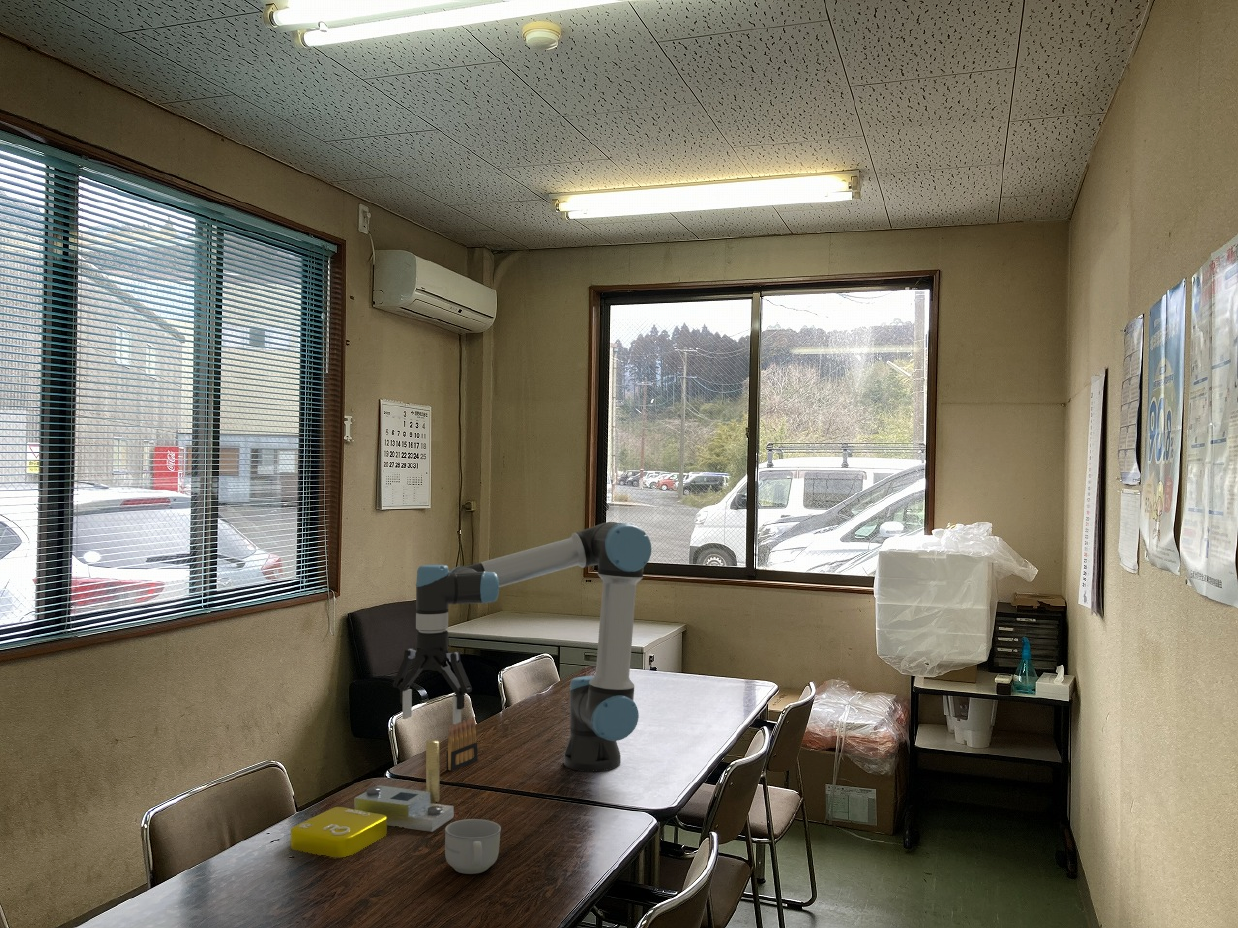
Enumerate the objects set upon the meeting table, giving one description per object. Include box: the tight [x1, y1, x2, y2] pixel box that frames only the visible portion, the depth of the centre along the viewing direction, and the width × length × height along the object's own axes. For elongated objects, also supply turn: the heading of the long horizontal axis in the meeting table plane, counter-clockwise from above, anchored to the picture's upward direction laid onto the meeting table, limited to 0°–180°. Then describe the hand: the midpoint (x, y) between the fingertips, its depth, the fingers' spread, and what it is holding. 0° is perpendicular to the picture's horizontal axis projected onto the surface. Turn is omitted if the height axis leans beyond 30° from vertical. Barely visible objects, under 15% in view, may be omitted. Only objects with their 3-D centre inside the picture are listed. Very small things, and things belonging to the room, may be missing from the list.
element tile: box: [290, 806, 388, 858], centre depth 192 cm, size 15×15×5 cm
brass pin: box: [425, 739, 440, 804], centre depth 216 cm, size 3×3×14 cm
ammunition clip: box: [445, 716, 479, 772], centre depth 243 cm, size 11×2×12 cm, turn 149°
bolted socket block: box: [353, 784, 455, 833], centre depth 204 cm, size 20×9×6 cm, turn 70°
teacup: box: [444, 818, 502, 875], centre depth 177 cm, size 14×11×8 cm
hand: (431, 720), depth 216 cm, fingers open, 13 cm apart
